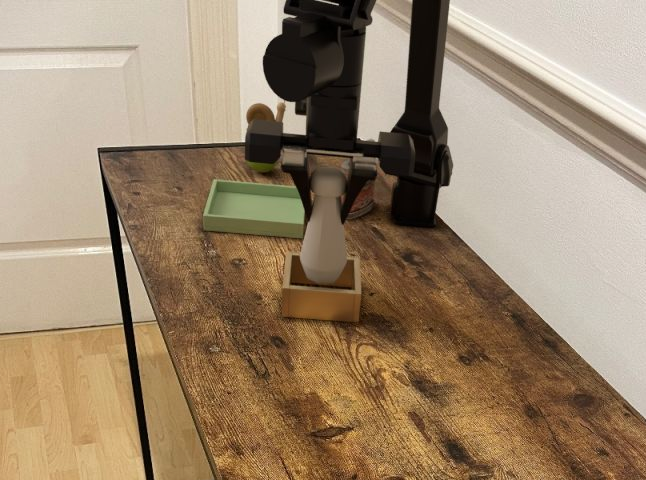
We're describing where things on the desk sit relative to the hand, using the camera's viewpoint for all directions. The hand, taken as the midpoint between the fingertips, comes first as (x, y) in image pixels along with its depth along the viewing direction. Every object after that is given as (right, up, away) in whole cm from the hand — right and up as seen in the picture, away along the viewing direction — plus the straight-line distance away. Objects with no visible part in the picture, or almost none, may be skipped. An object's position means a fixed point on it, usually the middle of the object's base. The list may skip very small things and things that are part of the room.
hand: (325, 221), depth 93 cm
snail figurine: (-12, +22, +36) cm, 44 cm away
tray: (-12, +10, +24) cm, 28 cm away
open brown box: (-1, -7, +7) cm, 10 cm away
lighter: (+3, +12, +29) cm, 31 cm away
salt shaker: (-1, -5, +5) cm, 7 cm away
